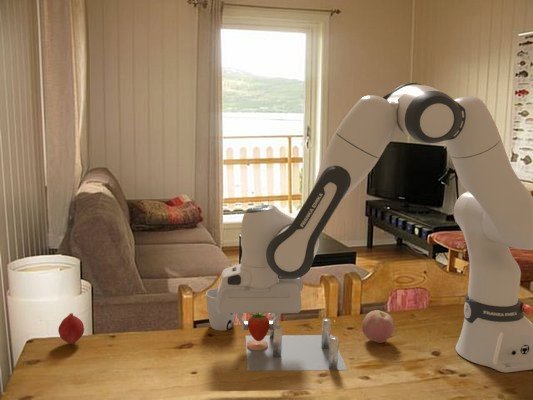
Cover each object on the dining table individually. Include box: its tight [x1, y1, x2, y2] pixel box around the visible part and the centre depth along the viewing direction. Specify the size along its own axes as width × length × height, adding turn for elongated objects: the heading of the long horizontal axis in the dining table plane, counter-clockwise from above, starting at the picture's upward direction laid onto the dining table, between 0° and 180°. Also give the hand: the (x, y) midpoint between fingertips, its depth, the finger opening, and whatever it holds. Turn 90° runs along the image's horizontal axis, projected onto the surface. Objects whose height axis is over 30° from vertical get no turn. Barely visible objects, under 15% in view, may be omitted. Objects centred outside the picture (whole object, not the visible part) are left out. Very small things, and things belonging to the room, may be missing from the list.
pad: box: [247, 339, 268, 351], centre depth 133 cm, size 5×5×1 cm
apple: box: [361, 309, 395, 344], centre depth 139 cm, size 8×8×8 cm
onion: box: [58, 312, 85, 345], centre depth 134 cm, size 6×6×8 cm
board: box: [245, 334, 348, 372], centre depth 131 cm, size 22×18×1 cm
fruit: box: [247, 313, 270, 341], centre depth 132 cm, size 5×5×8 cm
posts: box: [269, 313, 340, 371], centre depth 130 cm, size 14×18×7 cm
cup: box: [205, 287, 237, 332], centre depth 144 cm, size 8×8×10 cm
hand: (258, 329), depth 132 cm, fingers closed on fruit, 5 cm apart
